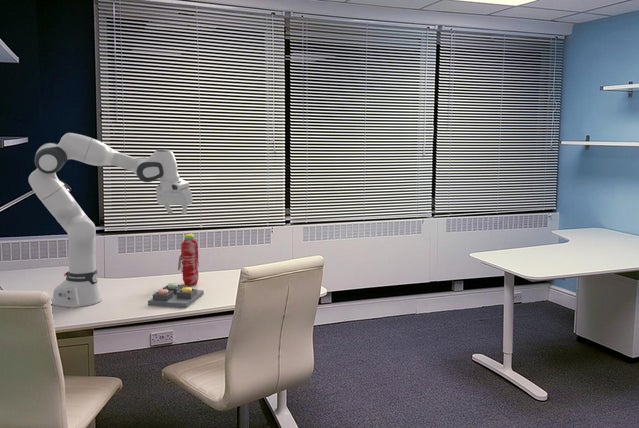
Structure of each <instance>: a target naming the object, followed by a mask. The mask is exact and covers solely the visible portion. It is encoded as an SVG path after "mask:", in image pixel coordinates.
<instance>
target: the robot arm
mask: <svg viewBox="0 0 639 428" xmlns="http://www.w3.org/2000/svg"><path fill="white" fill-rule="evenodd" d="M59 140H60V141H59V142H58V143H56V142H45V143H43V144H42V145H41V146H39V148H38V149H37V150H36V152H35V155H34V165H35V167H36V169H35V170H33V171H32V172H31V173H30V174H29V176H28V184H29V185H30V187H31V189H32V191H33V192H34V194H35V195H36V196H37V198H38V199H39V201H41V203H42V204H43V205H44V207H45V208H46V209H47V210H48V211H49V213H50V214H51V215H52V216H53V217H54V218H55V220H56V222H57V223H58V224H59V225H60V226H61V227H62V228H63V230H64V231H65V232H66V233H67V235H68V250H67V251H68V253H67V257H68V258H67V259H68V271H66V272H65V273H64V274H63V277H65V279H64V281H62V282H60V283H59V285H56V287H55V288H54V290H53V294H52V297H50V299H51V301H52V304H53V306H60V307H66V308H79V307H85V306H92V305H94V304H97V303H98V304H99V302H101V301H102V297H101V293H100V290H99V286H98V269H97V266H96V265H97V264H96V263H97V262H96V245H97V244H96V241H97V239H96V238H97V237H96V235H97V234H96V233H97V232H96V231H97V230H96V225H95V222H93V221H92V220H91V219H90V217H88V215H87V214H86V213H85V211H84V210H83V209H82V208H81V206H80V205H79V203H78V202H77V201H76V199H75V198H74V196H73V195H72V194H71V193H70V191H69V190H68V189H67V188H66V187H65V185H64V184H63V183H62V181H61V180H60V179H59V178H58V176H57V172H59V171H60V170H61V169H62V168H63V166H64V165H65V164H66V162H68V161H69V160H74V161H78V162H81V163H84V164H87V165H91V166H95V167H96V166H97V167H104V166H114V167H117V168H122V169H124V170H127V171H130V172H132V173H133V174H134V175H136V176H137V178H138V179H139V180H140V181H142V182H144V183H151V182H154V181H156V180H159V183H160V184H157V186H156V187H155V189H156V190H155V192H156V193H155V194H156V195H155V196H156V202H157V204H158V205H159V206H160V205H161V206H164V208H165V210H166V211H167V214H168V215H172V214H173V213H174V212H173V209H172V208H171V206H181V208H182V210H181V212H180V213H181V215H184V216H185V215H187V214H188V212H187V209H188V206H189V205H191V204H193V194H192V190H191V188H190V182H189V181H186V180H184V179H183V178H180V174H179V172H178V164H177V160H176V155H175V154H174V152H173V151H172V150H170V149H164V148H163V149H156V150H155V151H154V152H153V153H152V154H151V155H150V156H149V157H144V156H143V157H135V156H131V155H128V154H125V153H123V152H121V151H117V150H116V149H113V148H112V147H111V146H109V145H107V144H105V143H104V142H102V141H101V140H99V139H98V140H97V139H95V138H93V137H90V136H87V135H83V134H79V133H74V132H67V133H65V134H64V135H63V136H62V137H60V139H59ZM52 304H51V305H52Z"/></svg>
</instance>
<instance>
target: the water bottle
mask: <svg viewBox="0 0 639 428" xmlns="http://www.w3.org/2000/svg"><path fill="white" fill-rule="evenodd" d="M180 244H181V245H180V255H179V257H178V264H177V265H178V266H177V271H181V273H182V281H183V283H184V285H186V286H194V285H197V284H198V281H199V278H200V277H199V247H198V242H197V240H196V239H195V234H193V233H187V234H185V235H184V239H183V241H182V243H180Z"/></svg>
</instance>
